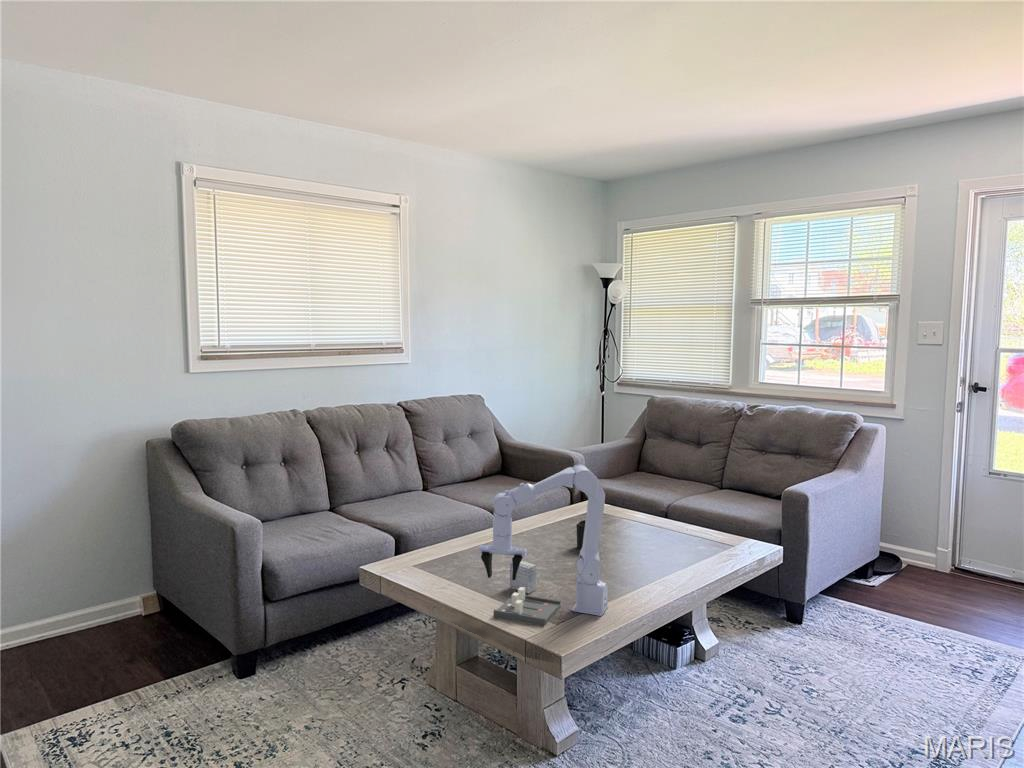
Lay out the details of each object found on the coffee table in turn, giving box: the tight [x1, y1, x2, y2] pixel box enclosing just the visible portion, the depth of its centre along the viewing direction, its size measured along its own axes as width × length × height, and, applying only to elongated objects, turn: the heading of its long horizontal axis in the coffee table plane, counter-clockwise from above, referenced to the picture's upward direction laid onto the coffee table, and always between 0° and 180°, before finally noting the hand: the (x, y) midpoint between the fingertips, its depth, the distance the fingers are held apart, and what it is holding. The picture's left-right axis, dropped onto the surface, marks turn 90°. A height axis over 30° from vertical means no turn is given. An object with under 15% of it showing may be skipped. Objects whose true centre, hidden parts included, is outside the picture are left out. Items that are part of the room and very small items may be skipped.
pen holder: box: [576, 519, 600, 551], centre depth 270 cm, size 9×9×10 cm
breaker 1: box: [511, 592, 520, 607], centre depth 210 cm, size 2×2×4 cm
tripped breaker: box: [515, 600, 523, 614], centre depth 205 cm, size 2×2×4 cm
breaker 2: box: [517, 587, 526, 601], centre depth 215 cm, size 2×2×4 cm
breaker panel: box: [493, 592, 562, 627], centre depth 209 cm, size 16×15×2 cm
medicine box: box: [509, 560, 537, 595], centre depth 227 cm, size 8×4×9 cm, turn 48°
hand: (502, 577), depth 209 cm, fingers open, 7 cm apart
